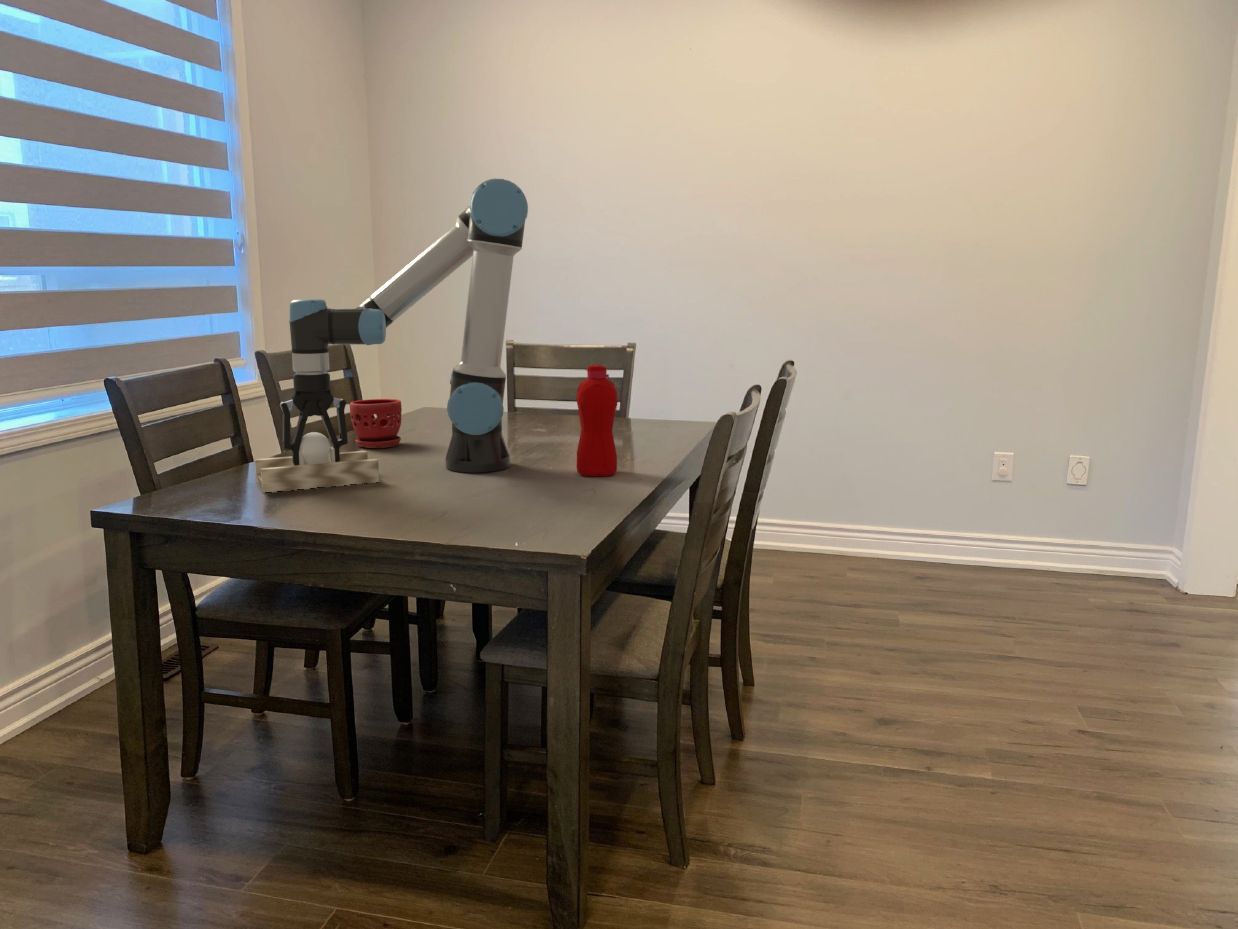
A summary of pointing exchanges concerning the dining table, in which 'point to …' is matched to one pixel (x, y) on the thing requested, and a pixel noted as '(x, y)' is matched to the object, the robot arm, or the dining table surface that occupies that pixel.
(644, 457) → the dining table surface
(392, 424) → the plant pot
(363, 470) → the beige chevron holder
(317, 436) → the light bulb
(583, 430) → the water bottle
